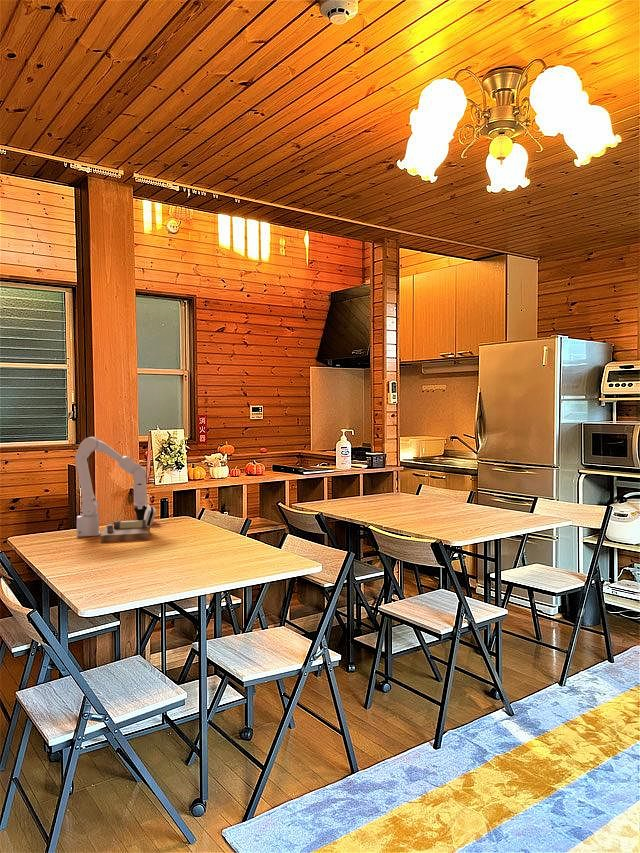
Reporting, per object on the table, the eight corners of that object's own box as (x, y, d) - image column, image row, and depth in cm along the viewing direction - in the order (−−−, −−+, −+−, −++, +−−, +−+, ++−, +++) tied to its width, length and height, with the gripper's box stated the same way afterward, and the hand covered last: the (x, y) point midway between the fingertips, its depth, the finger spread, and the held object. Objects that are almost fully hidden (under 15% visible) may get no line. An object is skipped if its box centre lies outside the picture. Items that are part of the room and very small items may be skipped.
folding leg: (113, 529, 293) (113, 522, 293) (114, 527, 296) (113, 521, 296) (145, 527, 296) (145, 520, 296) (145, 526, 300) (145, 519, 299)
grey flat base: (100, 542, 279) (100, 528, 279) (104, 534, 297) (103, 521, 297) (149, 539, 284) (149, 526, 284) (150, 532, 301) (149, 519, 301)
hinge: (136, 521, 330) (143, 502, 331) (146, 524, 332) (152, 505, 333) (141, 527, 315) (147, 507, 316) (150, 529, 316) (157, 509, 317)
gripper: (149, 494, 295) (149, 524, 295) (149, 490, 309) (150, 519, 309) (132, 495, 293) (133, 525, 294) (133, 491, 307) (134, 520, 308)
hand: (140, 522), depth 301 cm, fingers closed
